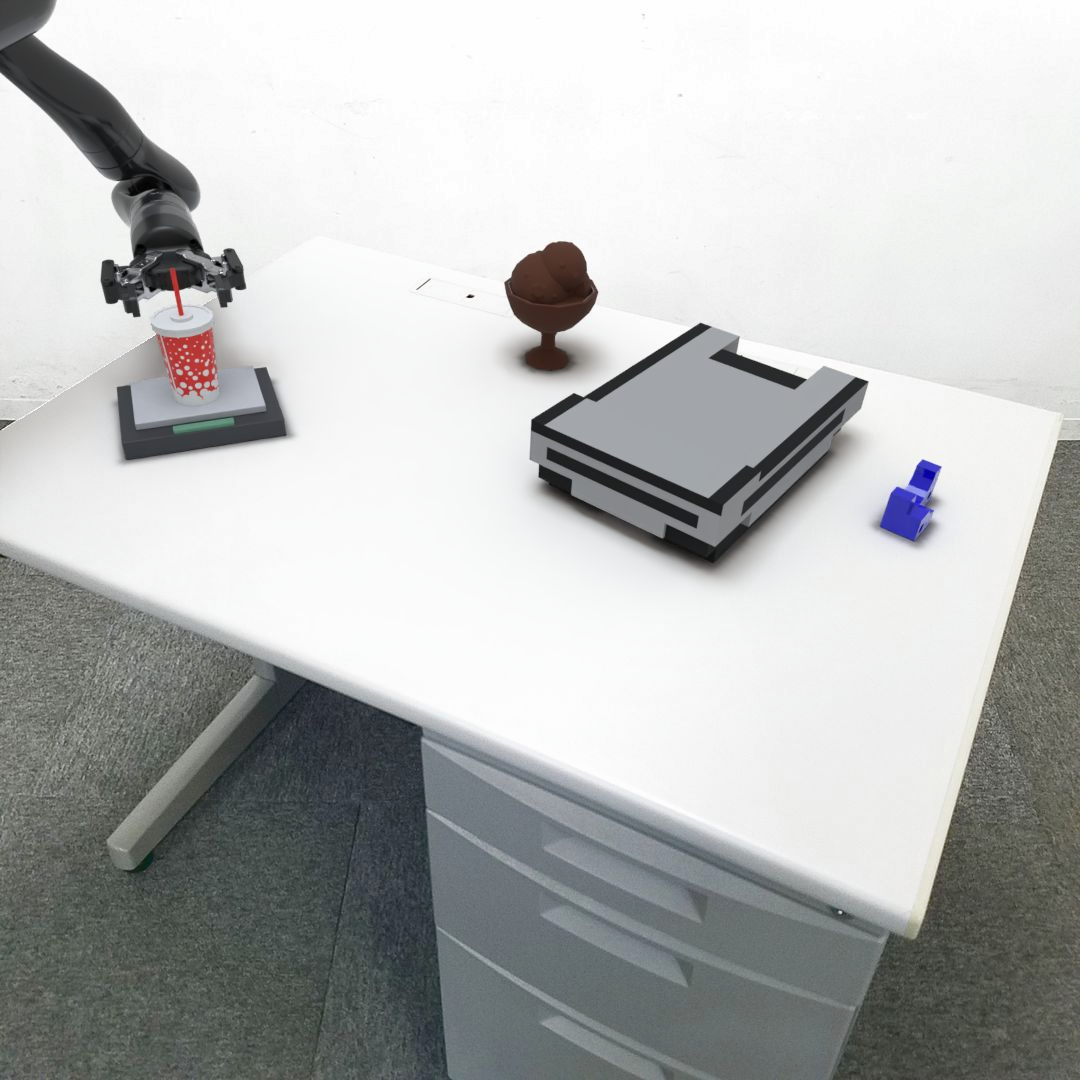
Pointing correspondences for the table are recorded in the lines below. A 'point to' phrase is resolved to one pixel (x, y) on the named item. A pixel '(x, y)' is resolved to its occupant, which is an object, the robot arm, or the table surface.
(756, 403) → the game console
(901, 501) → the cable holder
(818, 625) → the table surface
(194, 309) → the beverage cup
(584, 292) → the ice cream bowl
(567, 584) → the table surface
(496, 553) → the table surface
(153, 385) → the scale
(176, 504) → the table surface
